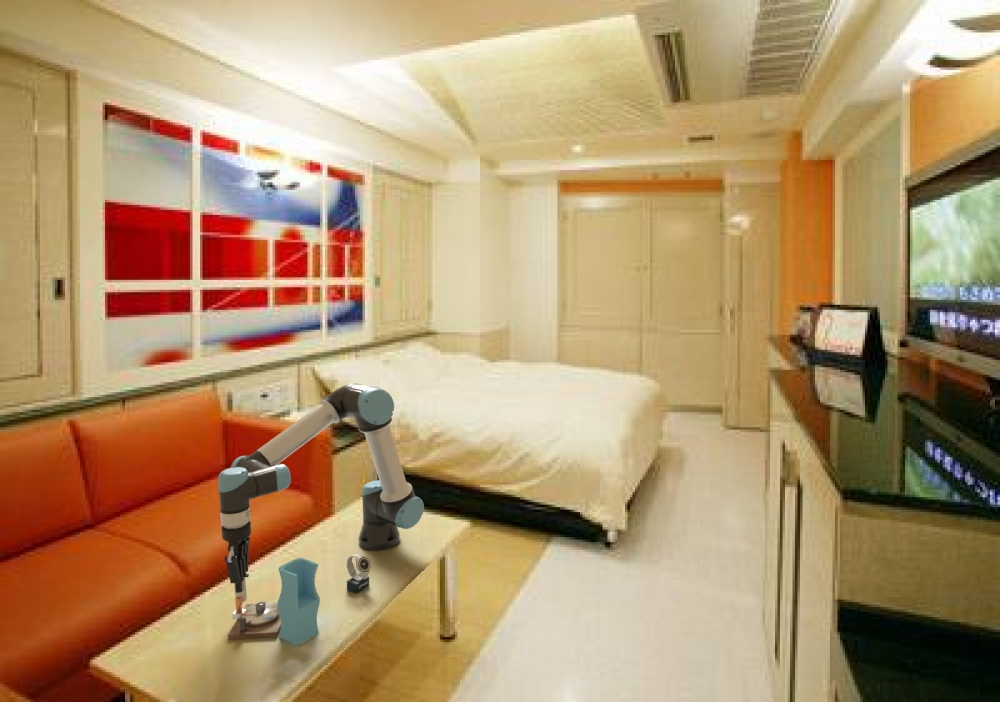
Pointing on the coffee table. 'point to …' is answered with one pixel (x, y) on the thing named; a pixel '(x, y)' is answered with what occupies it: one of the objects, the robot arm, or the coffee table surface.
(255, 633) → the base board
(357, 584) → the watch
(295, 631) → the blue tall hollow container
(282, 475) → the robot arm
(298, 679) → the coffee table surface
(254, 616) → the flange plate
